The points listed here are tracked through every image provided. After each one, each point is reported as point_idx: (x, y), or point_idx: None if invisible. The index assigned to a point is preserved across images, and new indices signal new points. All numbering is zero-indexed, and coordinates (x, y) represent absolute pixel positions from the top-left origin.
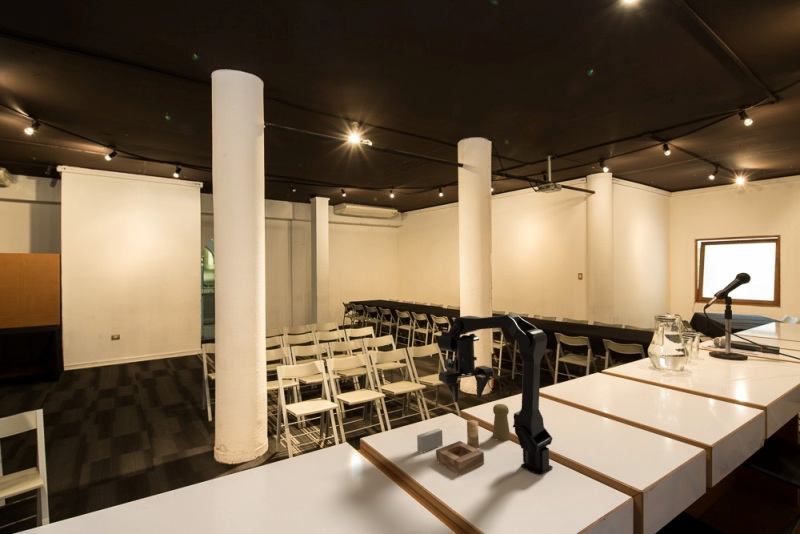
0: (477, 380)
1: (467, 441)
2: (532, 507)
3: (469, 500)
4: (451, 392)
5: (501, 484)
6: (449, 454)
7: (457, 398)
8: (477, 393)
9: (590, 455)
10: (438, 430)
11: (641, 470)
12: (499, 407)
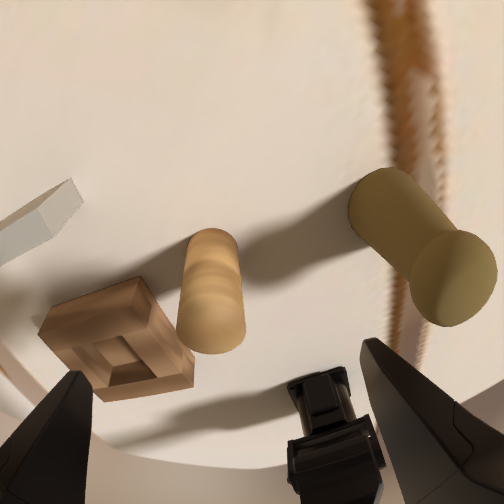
0: (460, 499)
1: (185, 260)
2: (216, 450)
3: (116, 425)
4: (19, 442)
5: (196, 415)
6: (79, 368)
7: (88, 431)
8: (377, 376)
9: (460, 355)
10: (36, 236)
11: (457, 395)
12: (442, 319)
